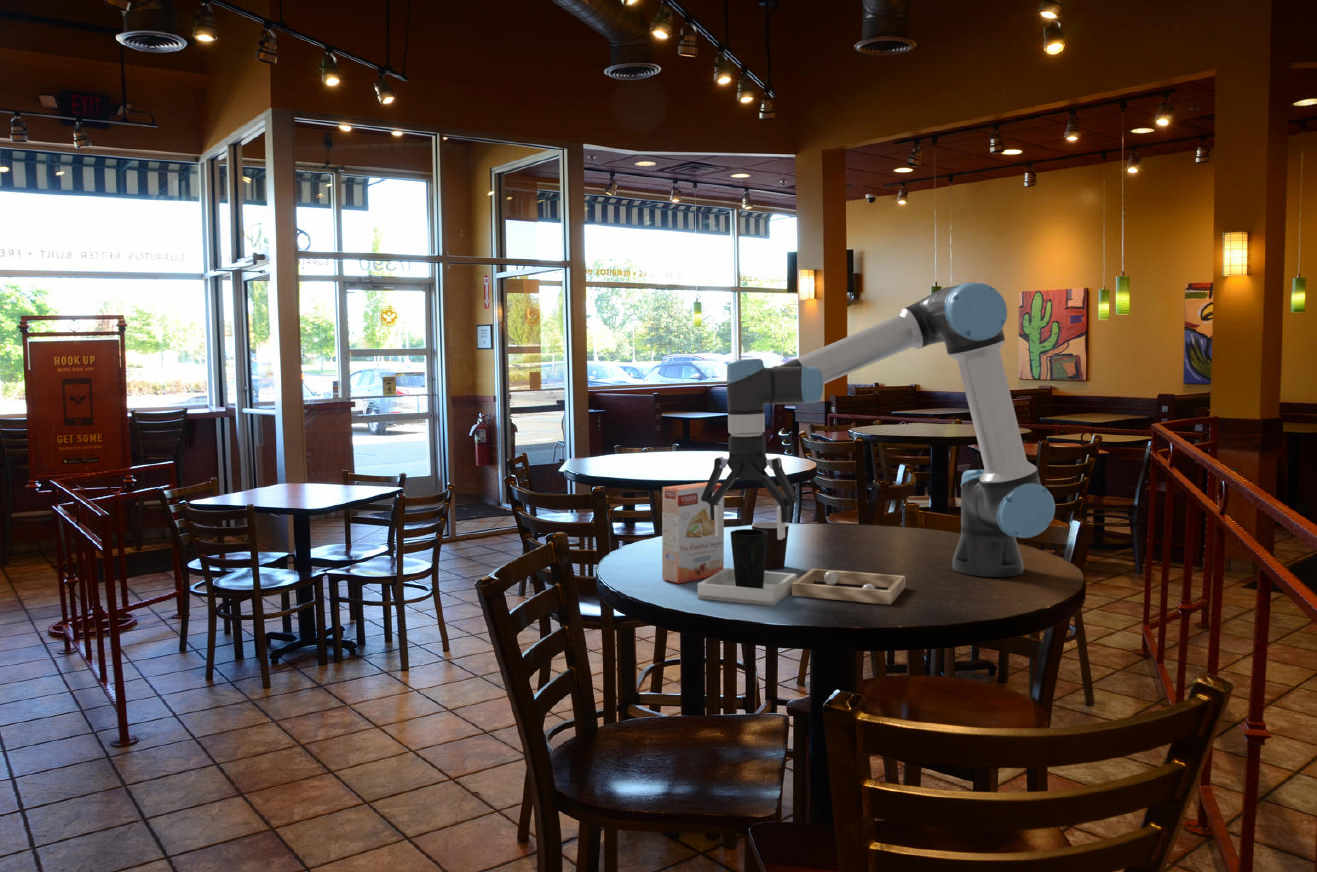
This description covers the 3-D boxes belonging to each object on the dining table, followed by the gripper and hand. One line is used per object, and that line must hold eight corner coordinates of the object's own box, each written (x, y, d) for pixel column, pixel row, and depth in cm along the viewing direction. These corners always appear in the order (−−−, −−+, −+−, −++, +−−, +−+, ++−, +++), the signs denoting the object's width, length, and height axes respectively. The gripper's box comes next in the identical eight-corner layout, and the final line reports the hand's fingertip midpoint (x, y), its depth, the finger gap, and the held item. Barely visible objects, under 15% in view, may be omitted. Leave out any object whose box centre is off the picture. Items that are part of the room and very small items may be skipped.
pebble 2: (877, 597, 192) (877, 582, 192) (874, 601, 189) (874, 586, 189) (862, 596, 193) (862, 581, 193) (859, 599, 191) (859, 584, 191)
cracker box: (679, 585, 206) (678, 489, 204) (661, 580, 210) (660, 486, 208) (726, 575, 215) (725, 483, 213) (707, 570, 219) (706, 480, 218)
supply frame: (904, 587, 200) (905, 576, 200) (890, 604, 186) (890, 592, 186) (812, 579, 208) (812, 568, 208) (792, 595, 195) (792, 583, 195)
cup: (744, 583, 203) (744, 527, 202) (775, 588, 198) (774, 531, 197) (723, 590, 197) (723, 533, 196) (754, 595, 192) (754, 536, 191)
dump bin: (796, 587, 201) (796, 574, 201) (772, 605, 187) (772, 590, 187) (725, 581, 208) (725, 568, 208) (697, 598, 194) (697, 583, 193)
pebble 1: (839, 584, 204) (839, 570, 204) (836, 587, 201) (836, 573, 201) (825, 582, 205) (826, 569, 205) (822, 585, 203) (822, 572, 203)
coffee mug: (787, 571, 217) (787, 528, 216) (750, 570, 219) (749, 527, 218) (791, 561, 228) (790, 519, 228) (755, 560, 230) (754, 519, 229)
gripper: (811, 432, 193) (813, 536, 195) (697, 432, 204) (701, 530, 205) (800, 436, 186) (803, 543, 188) (683, 436, 197) (687, 537, 198)
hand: (749, 536), depth 197 cm, fingers open, 13 cm apart
